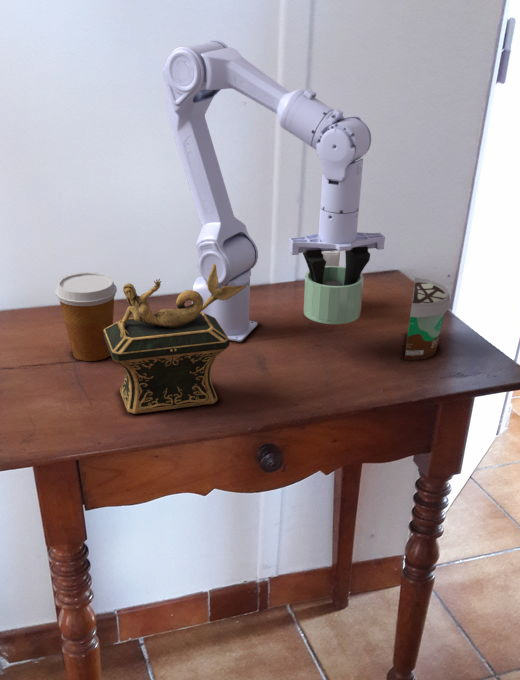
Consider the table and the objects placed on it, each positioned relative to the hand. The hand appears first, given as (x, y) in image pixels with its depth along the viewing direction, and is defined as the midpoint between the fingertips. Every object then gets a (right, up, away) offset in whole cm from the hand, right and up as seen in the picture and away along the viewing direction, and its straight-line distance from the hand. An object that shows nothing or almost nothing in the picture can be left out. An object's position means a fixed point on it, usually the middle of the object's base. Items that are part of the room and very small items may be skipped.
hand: (332, 295), depth 134 cm
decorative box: (-24, -17, -6) cm, 29 cm away
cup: (0, -2, +2) cm, 3 cm away
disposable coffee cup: (-39, -8, +6) cm, 40 cm away
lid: (0, -2, +1) cm, 2 cm away
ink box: (0, +3, +23) cm, 23 cm away
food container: (+16, -7, +9) cm, 20 cm away
